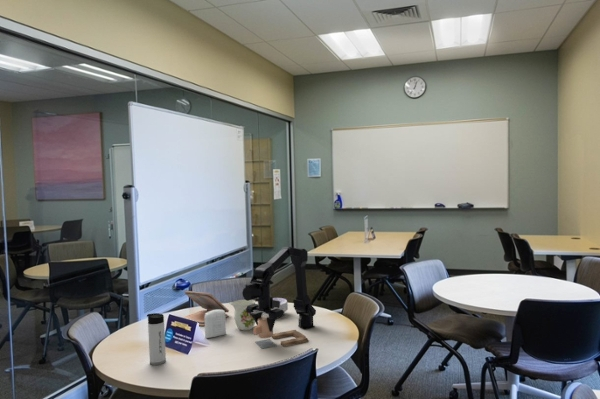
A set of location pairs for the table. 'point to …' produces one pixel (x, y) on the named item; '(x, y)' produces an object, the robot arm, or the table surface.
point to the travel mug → (156, 338)
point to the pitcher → (243, 314)
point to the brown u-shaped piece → (298, 339)
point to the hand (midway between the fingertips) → (265, 329)
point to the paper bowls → (282, 305)
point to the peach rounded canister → (263, 328)
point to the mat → (265, 343)
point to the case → (204, 305)
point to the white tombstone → (215, 323)
